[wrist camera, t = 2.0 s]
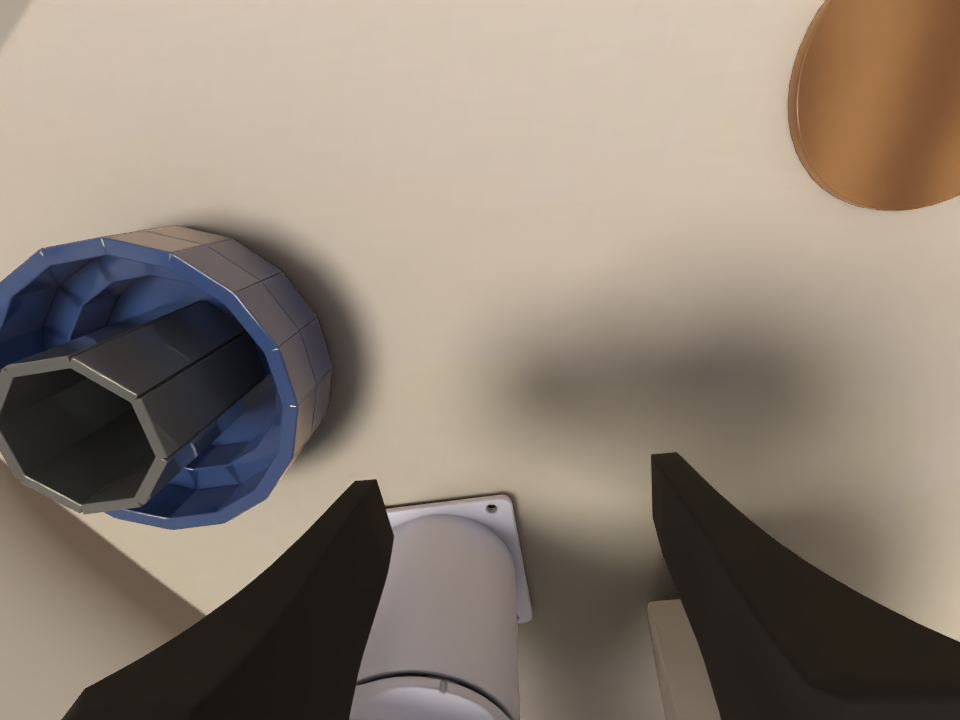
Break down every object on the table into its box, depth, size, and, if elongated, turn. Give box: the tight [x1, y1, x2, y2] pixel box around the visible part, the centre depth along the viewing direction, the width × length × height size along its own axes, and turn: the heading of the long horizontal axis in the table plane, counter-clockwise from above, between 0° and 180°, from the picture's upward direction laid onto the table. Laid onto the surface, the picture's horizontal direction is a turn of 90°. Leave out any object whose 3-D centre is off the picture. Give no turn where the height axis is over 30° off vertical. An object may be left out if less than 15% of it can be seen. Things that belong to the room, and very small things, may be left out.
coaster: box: [788, 0, 960, 211], centre depth 17 cm, size 9×9×1 cm
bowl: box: [0, 226, 332, 530], centre depth 21 cm, size 12×12×4 cm
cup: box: [0, 300, 265, 514], centre depth 19 cm, size 5×5×7 cm
